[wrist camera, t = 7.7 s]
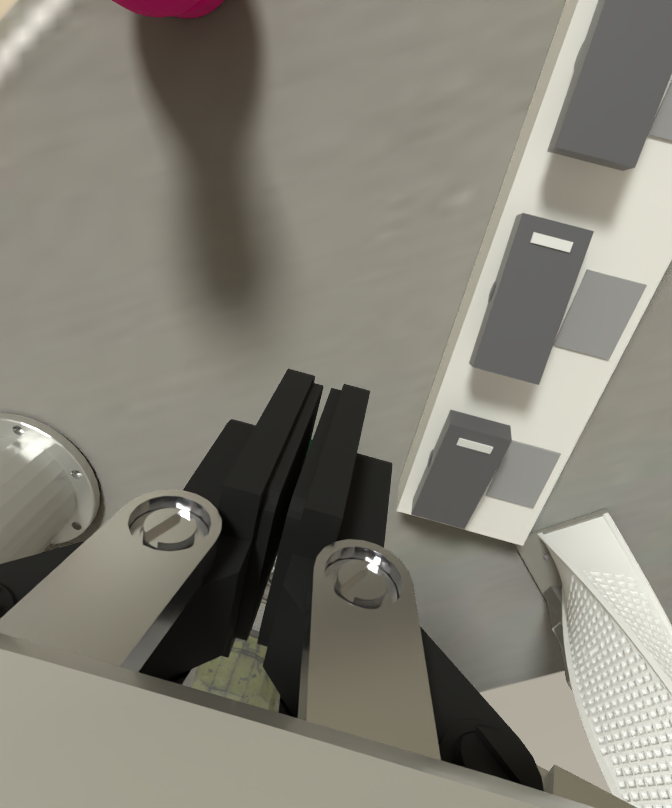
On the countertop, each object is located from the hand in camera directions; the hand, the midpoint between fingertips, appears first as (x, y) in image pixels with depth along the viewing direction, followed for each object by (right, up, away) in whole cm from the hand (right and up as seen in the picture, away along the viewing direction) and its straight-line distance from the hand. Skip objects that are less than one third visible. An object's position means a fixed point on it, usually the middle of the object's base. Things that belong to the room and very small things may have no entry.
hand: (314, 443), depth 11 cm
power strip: (+13, +8, +22) cm, 27 cm away
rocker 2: (+13, +16, +13) cm, 24 cm away
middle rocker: (+10, +6, +18) cm, 22 cm away
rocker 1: (+8, -3, +24) cm, 25 cm away
